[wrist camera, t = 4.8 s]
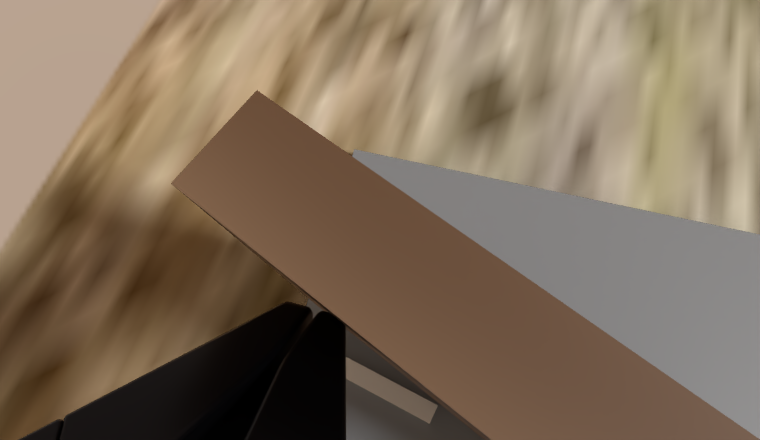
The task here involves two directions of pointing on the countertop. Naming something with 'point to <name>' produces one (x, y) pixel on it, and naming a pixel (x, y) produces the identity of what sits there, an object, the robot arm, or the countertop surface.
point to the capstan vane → (432, 293)
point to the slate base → (584, 293)
